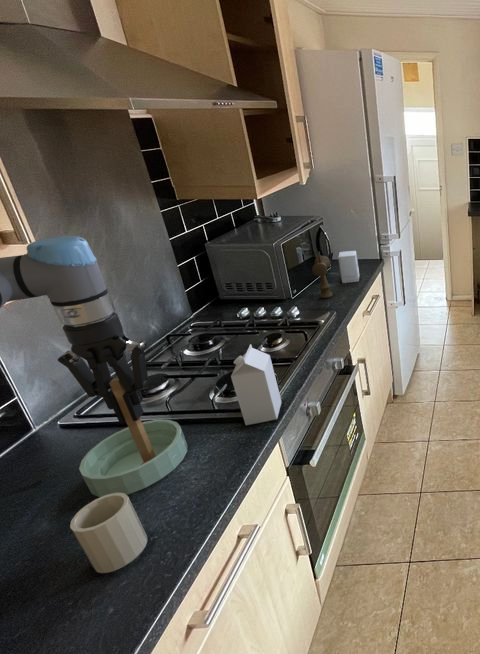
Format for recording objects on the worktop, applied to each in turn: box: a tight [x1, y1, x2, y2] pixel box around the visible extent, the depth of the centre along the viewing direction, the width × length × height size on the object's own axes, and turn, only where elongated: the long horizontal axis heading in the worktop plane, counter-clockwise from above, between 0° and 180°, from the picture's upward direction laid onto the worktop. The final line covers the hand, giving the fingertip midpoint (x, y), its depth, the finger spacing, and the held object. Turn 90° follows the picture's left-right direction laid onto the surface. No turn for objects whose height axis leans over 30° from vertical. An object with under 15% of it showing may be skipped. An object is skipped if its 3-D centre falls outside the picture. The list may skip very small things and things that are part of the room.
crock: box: [69, 493, 148, 574], centre depth 72 cm, size 7×7×11 cm
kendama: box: [311, 251, 334, 299], centre depth 169 cm, size 6×10×20 cm, turn 16°
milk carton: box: [230, 343, 283, 426], centre depth 104 cm, size 7×7×19 cm
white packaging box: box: [337, 250, 360, 284], centre depth 187 cm, size 7×7×13 cm
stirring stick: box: [109, 377, 156, 462], centre depth 87 cm, size 2×2×22 cm
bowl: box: [78, 419, 188, 498], centre depth 91 cm, size 17×17×6 cm
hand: (131, 417), depth 87 cm, fingers closed on stirring stick, 2 cm apart
